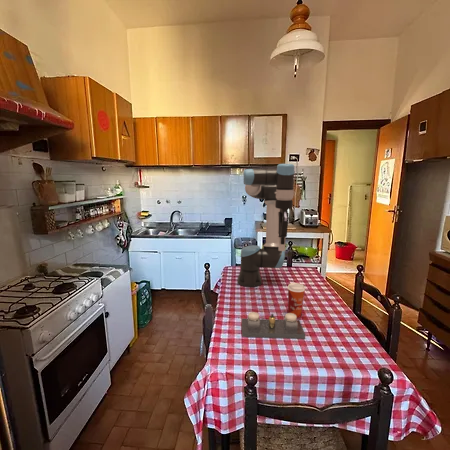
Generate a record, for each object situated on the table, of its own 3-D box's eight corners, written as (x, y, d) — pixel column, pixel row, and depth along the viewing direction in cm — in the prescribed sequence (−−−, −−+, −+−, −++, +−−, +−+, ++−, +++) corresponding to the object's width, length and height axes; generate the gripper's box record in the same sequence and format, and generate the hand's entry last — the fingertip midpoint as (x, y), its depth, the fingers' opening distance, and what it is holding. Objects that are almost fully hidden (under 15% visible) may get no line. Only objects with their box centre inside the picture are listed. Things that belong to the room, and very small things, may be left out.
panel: (241, 322, 122) (241, 311, 121) (298, 324, 121) (299, 313, 120) (242, 336, 111) (242, 325, 110) (305, 338, 110) (305, 327, 109)
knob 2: (284, 322, 117) (284, 312, 117) (294, 323, 117) (295, 313, 116) (286, 328, 113) (286, 318, 112) (297, 329, 113) (297, 318, 112)
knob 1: (247, 321, 118) (248, 311, 117) (258, 322, 118) (258, 312, 117) (248, 327, 114) (248, 317, 113) (259, 327, 113) (259, 317, 113)
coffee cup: (291, 320, 124) (293, 290, 121) (282, 311, 132) (284, 283, 129) (307, 317, 126) (309, 288, 124) (298, 309, 134) (299, 281, 131)
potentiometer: (268, 324, 117) (269, 312, 116) (274, 324, 117) (275, 312, 116) (269, 327, 114) (269, 315, 113) (275, 327, 114) (275, 316, 113)
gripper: (273, 198, 125) (271, 246, 129) (277, 200, 112) (275, 254, 116) (289, 198, 125) (287, 247, 129) (295, 200, 112) (292, 254, 116)
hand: (281, 250), depth 123 cm, fingers closed
